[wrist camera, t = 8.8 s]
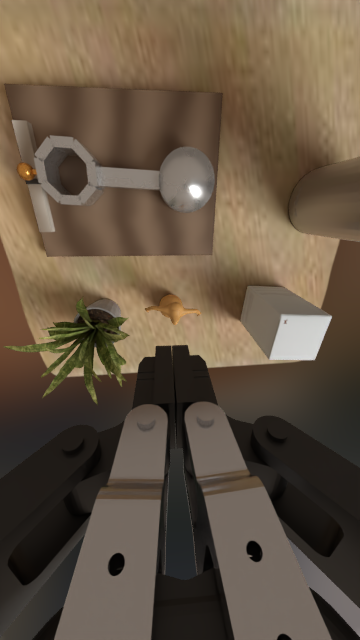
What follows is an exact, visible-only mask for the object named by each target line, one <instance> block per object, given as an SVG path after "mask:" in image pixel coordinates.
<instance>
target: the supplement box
mask: <svg viewBox="0 0 360 640" xmlns="http://www.w3.org/2000/svg"><path fill="white" fill-rule="evenodd" d="M331 318H332V316H331V315H329V314H327V313H326V312H324V311H323V310H321V309H319V308H318V307H316V306H314V305H313V304H311V303H309V302H308V301H306V300H304V299H303V298H301V297H299V296H298V295H296V294H294V293H293V292H291V291H290V290H288V289H286V288H285V287H268V286H247V291H246V296H245V300H244V305H243V310H242V315H241V320H240V321H241V323H242V324H243V325H244V327H245V328H246V329H247V331H248V332H249V333H250V335H251V336H252V337H253V339H254V340H255V341H256V343H257V344H258V345H259V347H260V348H261V349H262V351H263V352H264V353H265V355H266V356H267V357H268V359H269V360H314V359H315V357H316V355H317V352H318V350H319V347H320V345H321V342H322V340H323V337H324V335H325V332H326V330H327V327H328V325H329V323H330V320H331Z"/></svg>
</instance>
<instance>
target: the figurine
mask: <svg viewBox="0 0 360 640" xmlns="http://www.w3.org/2000/svg"><path fill="white" fill-rule="evenodd" d="M145 310H146V311H147V312H148V311H150V310H157V311H161V313H162V314H163V315H164V316H166V317H168V318H170V319H171V321H172V323H173V324H174V325H176V324H177V323H178V321H179V319H180V317H182V316H183V315H185V314H188V313H197V314H198V315H200V314H201V312H199V311H198V310H197V309H185V308H184V307H183V306H182V302H181V300H180V299H179V298H178V297H177V296H175V295H166V296H164V297H163V298H162V299H161V301H160V304H159V306H151V307H148V308H145ZM198 315H197V316H198Z"/></svg>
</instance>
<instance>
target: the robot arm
mask: <svg viewBox="0 0 360 640" xmlns="http://www.w3.org/2000/svg"><path fill="white" fill-rule="evenodd" d="M289 217H290V220H291V222H292V224H293V226H294V227H295V228H296V229H297V230H299V231H300V232H302V233H306V234H312V235H319V236H324V237H331V238H338V239H345V240H352V241H358V242H360V157H357V158H353V159H349V160H346V161H342V162H338V163H335V164H331V165H328V166H324V167H320V168H317V169H315V170H313V171H310V172H309V173H308V174H306V175H305V176H304V177H303V178H302V179H301V180H300V181H299V182H298V184H297V185H296V187H295V188H294V190H293V193H292V195H291V198H290V202H289ZM175 428H176V444H177V448H183V459H184V462H183V470H184V478H185V484H186V490H187V497H188V503H189V510H190V516H191V522H192V529H193V537H194V548H195V549H194V550H195V560H196V569H197V576H196V577H194V578H192V579H189V580H180V579H177V578H174V577H170V576H166V575H165V547H166V545H165V542H166V519H167V499H168V478H169V477H168V476H169V468H170V449H174V448H175ZM85 533H86V534H85ZM84 534H85V538H84V541H83V544H82V547H81V551H80V554H79V557H78V561H77V564H76V568H75V571H74V574H73V578H72V581H71V584H70V588H69V591H68V595H67V598H66V601H65V605H64V607H62V608H61V609H60V610H59V611H58V612H57V613H56V614H55V615H54V616H53V617H52V618H51V619H50V620H49V621H48V622H47V623H46V624H45V625H44V626H43V628H42V629H41V630H40V631H39V632H38V634H37V635H36V636H35V637H34V638H33V639H32V640H360V637H359V636H358V635H357V634H356V632H355V631H353V629H352V628H351V627H350V626H349V625H348V624H347V623H346V622H345V620H344V619H343V618H342V617H341V616H340V615H339V614H338V613H337V612H336V611H335V610H334V609H333V608H332V606H331V605H330V604H328V603H327V602H326V601H325V600H324V599H323V598H322V597H321V596H320V595H319V594H317V593H316V592H315V591H314V590H312V589H311V588H310V587H308V584H307V582H306V580H305V577H304V575H303V573H302V571H301V568H300V566H299V564H298V562H297V559H296V557H295V555H294V552H293V550H292V548H291V546H290V544H289V541H288V539H287V537H288V538H289V539H290V540H291V541H292V542H293V543H294V544H295V545H296V546H297V547H298V548H299V549H300V550H301V551H302V552H303V553H304V554H305V555H306V556H307V557H308V558H309V559H310V560H311V561H312V562H313V563H314V564H315V565H316V566H317V567H318V568H319V569H320V570H321V571H322V572H323V573H325V575H326V576H327V577H328V578H329V579H330V580H331V581H332V582H333V583H334V584H335V585H336V586H337V587H339V588H340V589H341V590H342V591H343V592H344V593H345V594H346V595H347V596H348V597H349V598H350V599H351V600H352V601H353V602H354V603H355V604H356V605H357V606H358V607H359V608H360V468H359V467H358V466H356V465H354V464H353V463H351V462H350V461H348V460H347V459H345V458H343V457H342V456H340V455H339V454H337V453H336V452H334V451H332V450H331V449H329V448H327V447H326V446H325V445H323V444H321V443H320V442H318V441H317V440H315V439H313V438H312V437H310V436H309V435H307V434H305V433H304V432H303V431H301V430H299V429H298V428H296V427H295V426H293V425H291V424H290V423H288V422H287V421H285V420H283V419H281V418H278V417H275V416H263V417H260V418H258V419H257V420H256V421H255V423H254V424H250V423H246V422H241V421H238V420H235V419H232V418H230V417H228V416H227V415H226V414H225V413H224V411H223V410H222V409H221V408H220V407H219V406H218V404H217V400H216V397H215V393H214V390H213V387H212V383H211V380H210V377H209V373H208V369H207V366H206V362H205V361H204V360H203V359H202V358H201V357H200V356H199V355H191V356H190V355H189V350H188V345H174V346H172V351H171V346H156V354H155V357H144V359H143V360H142V361H141V362H140V364H139V368H138V374H137V381H136V388H135V394H134V401H133V407H132V411H130V412H129V414H128V415H127V417H126V419H125V421H123V422H122V423H121V424H119V425H118V426H116V427H113V428H110V429H108V430H105V431H102V432H99V433H97V431H96V430H95V429H94V428H93V427H91V426H88V425H77V426H73V427H70V428H68V429H66V430H64V431H63V432H61V433H60V434H58V435H57V436H56V437H55V438H53V439H52V440H51V441H49V442H48V443H47V444H45V445H44V446H43V447H42V448H40V449H39V450H38V451H37V452H35V453H34V454H32V455H31V456H30V457H28V458H27V459H26V460H25V461H23V462H22V463H21V464H19V465H18V466H17V467H15V468H14V469H13V470H11V471H10V472H9V473H8V474H6V475H5V476H4V477H3V478H1V479H0V637H1V636H2V635H3V633H4V632H5V631H6V629H7V628H8V627H9V626H10V625H11V624H12V622H13V621H14V620H15V619H16V617H17V616H18V615H19V614H20V613H21V611H22V610H23V609H24V608H25V606H26V605H27V604H28V603H29V602H30V600H31V599H32V598H33V597H34V596H35V594H36V593H37V592H38V591H39V589H40V588H41V587H42V586H43V584H44V583H45V582H46V581H47V579H48V578H49V577H50V576H51V575H52V573H53V572H54V571H55V570H56V569H57V567H58V566H59V565H60V564H61V563H62V561H63V560H64V559H65V557H66V556H67V555H68V554H69V553H70V552H71V550H72V549H73V548H74V547H75V545H76V544H77V543H78V542H79V541H80V539H81V538H82V537H83V536H84ZM286 536H287V537H286Z"/></svg>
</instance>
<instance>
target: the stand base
mask: <svg viewBox="0 0 360 640" xmlns="http://www.w3.org/2000/svg"><path fill="white" fill-rule="evenodd" d="M4 85H5V89H6V93H7V97H8V101H9V105H10V109H11V113H12V117H13V120H12V124H13V128H14V132H15V136H16V140H17V144H18V148H19V152H20V156H21V160H22V163H23V162H24V163H27V164H29V165H30V166H32V168H33V169H35V170H36V167H35V162H34V158H37V157H36V156H35V155H34V154H35V153H36V151H37V150H38V149H39V147H40V146H41V144H42V143H43V142H44V140H45V139H46V137H49V138H50V135H52V136H64V137H73V138H74V139H77V140H78V141H79V142H80V143H81V144H82V145H84V146H85V147H86V148H87V149H88V150H89V151H90V152H91V154H92V155H93V156H94V157H95V158H96V159H97V160H98V161H99V163H100V164H101V165H102V166H101V167H110V168H124V169H139V170H153V171H160V168H161V165H162V163H163V161H164V160H165V158H166V157H167V156H168V155H169V154H170V153H171V152H172V151H174V150H175V149H177V148H180V147H193V148H196V149H198V150H200V151H201V152H203V153H204V154H205V155H206V156H207V158H208V159H209V160H210V162H211V164H212V167H213V170H214V176H215V183H214V189H213V192H212V195H211V197H210V199H209V200H208V202H207V203H206V204H205V205H204V206H203V207H202V208H200V209H198V210H196V211H194V212H189V213H183V212H178V211H175V210H173V209H171V208H170V207H169V206H168V205H167V204H166V203H165V201H164V200H163V198H162V196H161V193H160V191H159V190H143V189H126V188H110V187H105V189H102V190H103V191H104V193H103V194H102V195H101V196H100V197H99V198H98V200H97V201H96V202H95V203H94V204H93V205H91V206H82V205H66V204H61V203H58V202H57V201H56V200H55V199H54V198H53V197H52V196H50V195H49V194H48V193H47V192H46V191H45V190H44V189H43V188H42V187H41V186H40V185H41V184H42V183H39V182H38V177H37V175H35V177H34V179H32V180H25V181H26V184H28V188H29V192H30V196H31V200H32V204H33V208H34V212H35V216H36V220H37V224H38V228H39V232H41V234H42V238H43V242H44V246H45V250H46V254H47V257H54V256H159V255H212V249H213V234H214V218H215V202H216V187H217V171H218V156H219V140H220V125H221V109H222V93H208V92H185V91H161V90H137V89H113V88H90V87H66V86H42V85H18V84H4ZM58 168H59V175H60V181H61V185H62V186H63V187H64V188H65V189H66V190H67V191H68V192H69V193H70V194H71V195H74V196H78V195H79V194H80V193H81V192H82V190H83V189H84V188H85V187H86V185H87V184H88V176H87V167H86V163H85V162H84V161H83V160H82V159H81V158H80V157H79V156H72V155H67V157H66V158H65V159H64V160H63V162H62V163H61V164H60V166H59V167H58Z"/></svg>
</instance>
